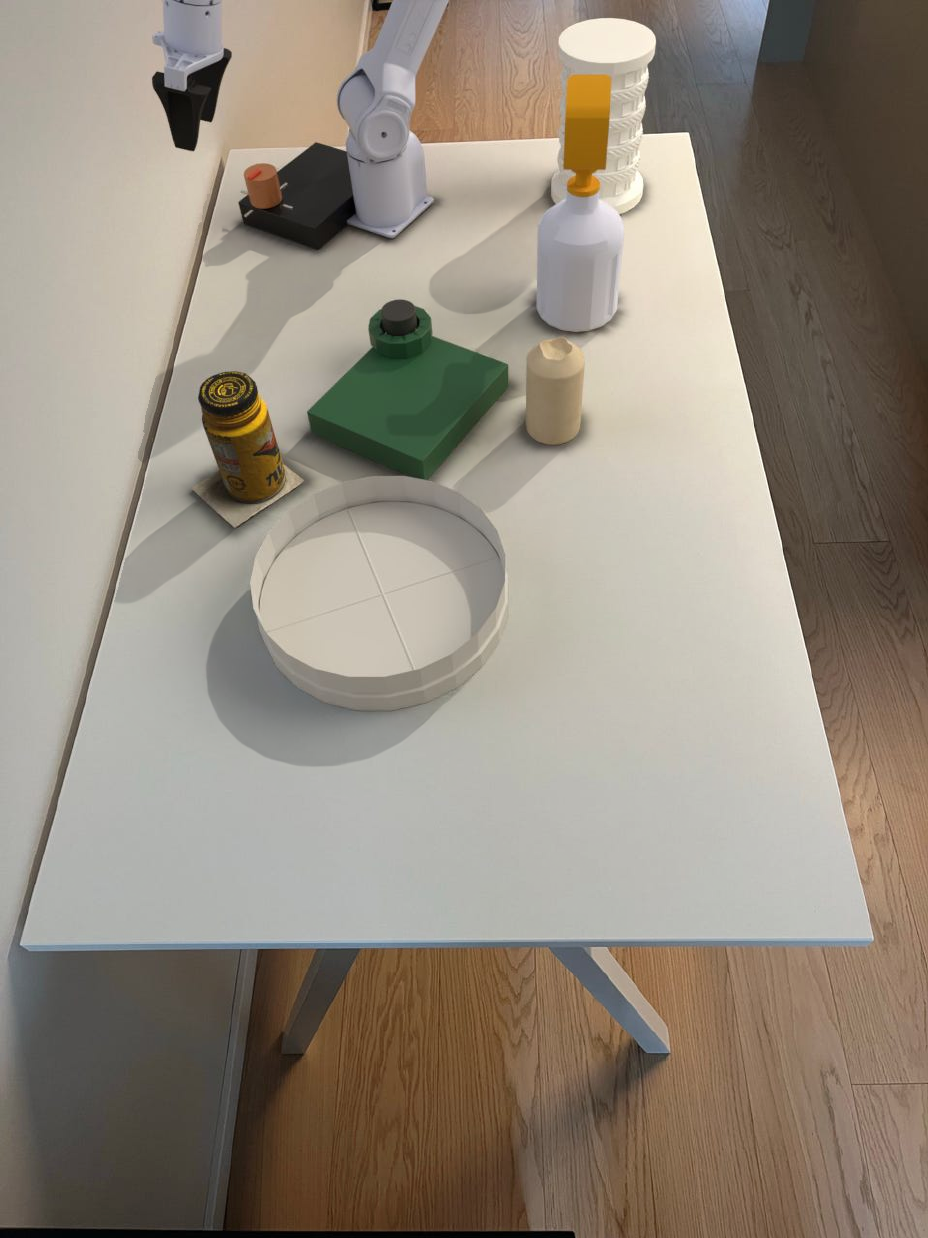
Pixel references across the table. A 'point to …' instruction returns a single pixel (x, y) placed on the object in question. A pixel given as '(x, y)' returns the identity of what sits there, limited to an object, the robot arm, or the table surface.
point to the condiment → (241, 449)
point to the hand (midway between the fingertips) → (194, 133)
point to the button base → (409, 399)
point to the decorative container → (625, 60)
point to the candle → (554, 391)
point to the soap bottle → (581, 221)
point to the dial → (263, 185)
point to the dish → (381, 592)
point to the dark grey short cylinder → (399, 318)
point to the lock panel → (308, 198)
